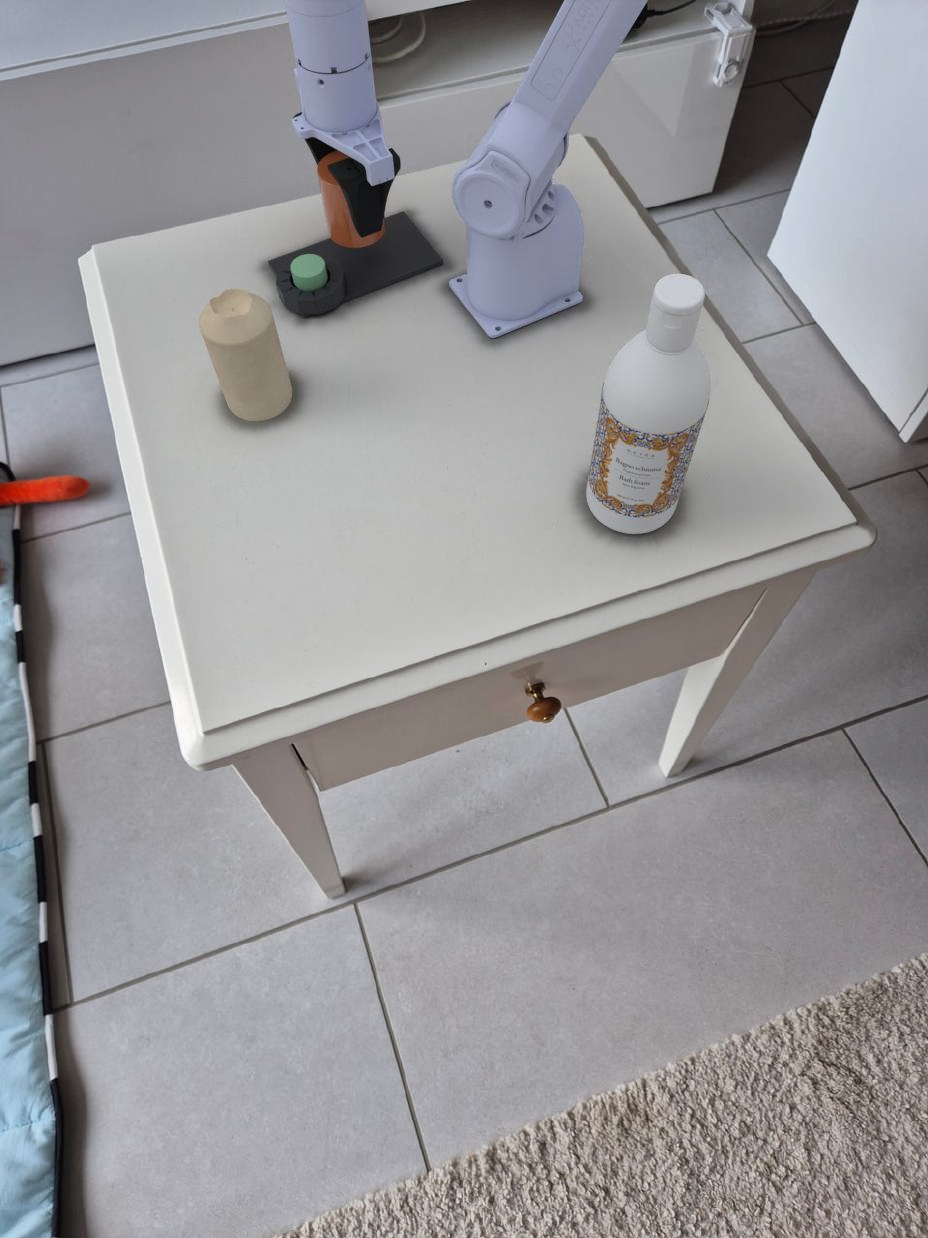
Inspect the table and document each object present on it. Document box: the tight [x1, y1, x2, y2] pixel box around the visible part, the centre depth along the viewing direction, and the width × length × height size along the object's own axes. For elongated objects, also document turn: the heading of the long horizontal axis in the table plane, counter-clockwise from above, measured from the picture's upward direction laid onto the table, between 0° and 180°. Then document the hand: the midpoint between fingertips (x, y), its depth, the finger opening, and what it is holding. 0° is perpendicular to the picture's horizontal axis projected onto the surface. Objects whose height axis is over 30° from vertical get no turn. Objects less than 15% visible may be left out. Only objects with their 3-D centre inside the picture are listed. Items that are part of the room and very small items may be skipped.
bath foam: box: [585, 273, 712, 535], centre depth 60 cm, size 7×7×20 cm
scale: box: [267, 210, 444, 319], centre depth 81 cm, size 15×9×2 cm, turn 119°
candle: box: [198, 288, 293, 422], centre depth 71 cm, size 6×6×10 cm
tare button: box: [291, 254, 328, 291], centre depth 78 cm, size 3×3×2 cm
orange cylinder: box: [316, 150, 386, 248], centre depth 78 cm, size 5×5×6 cm
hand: (355, 212), depth 79 cm, fingers closed on orange cylinder, 5 cm apart
